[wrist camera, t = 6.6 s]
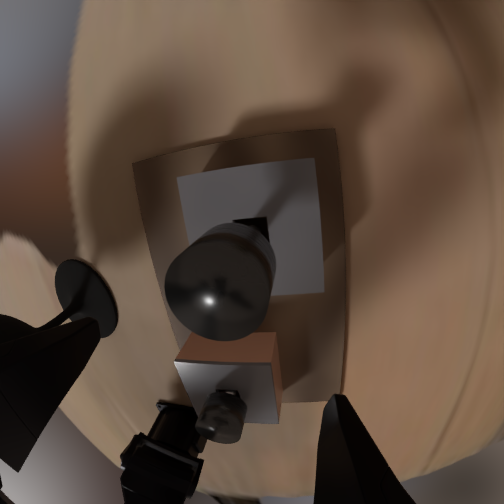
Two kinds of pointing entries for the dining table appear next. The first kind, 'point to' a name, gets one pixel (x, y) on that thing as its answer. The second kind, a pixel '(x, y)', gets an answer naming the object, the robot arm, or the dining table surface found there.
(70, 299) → the wine glass
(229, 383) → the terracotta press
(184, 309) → the black plunger
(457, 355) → the dining table surface
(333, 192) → the walnut board
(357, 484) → the robot arm
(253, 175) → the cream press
